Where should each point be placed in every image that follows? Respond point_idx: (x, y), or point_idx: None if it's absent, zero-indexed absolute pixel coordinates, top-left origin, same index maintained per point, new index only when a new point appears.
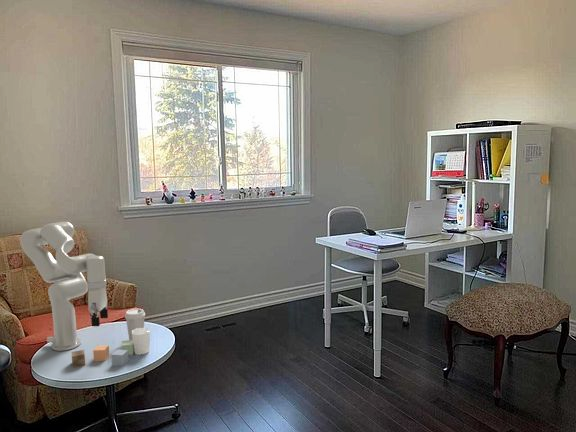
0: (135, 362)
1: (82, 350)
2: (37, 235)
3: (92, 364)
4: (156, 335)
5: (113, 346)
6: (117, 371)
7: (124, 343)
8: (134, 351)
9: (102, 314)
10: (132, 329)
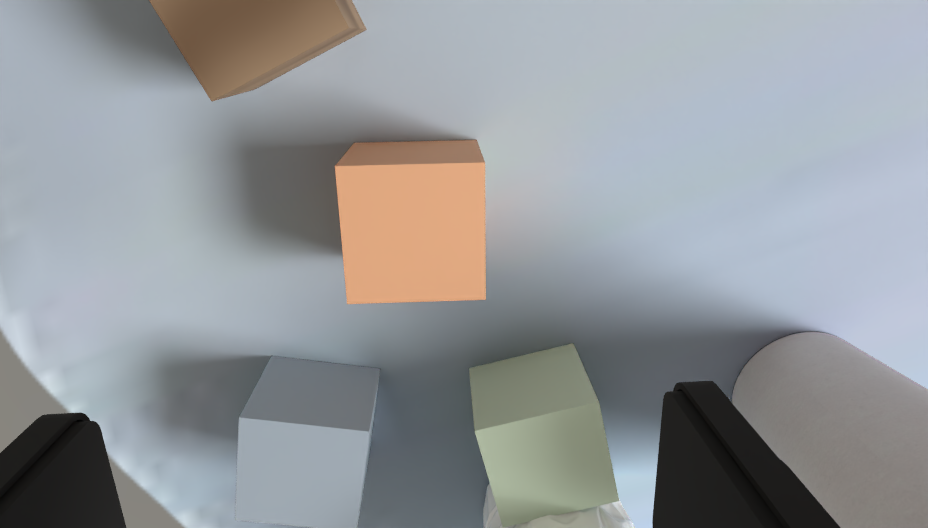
0: None
1: (320, 15)
2: None
3: (271, 163)
4: None
5: (699, 213)
6: (163, 438)
7: (528, 447)
8: None
9: (704, 510)
10: None
